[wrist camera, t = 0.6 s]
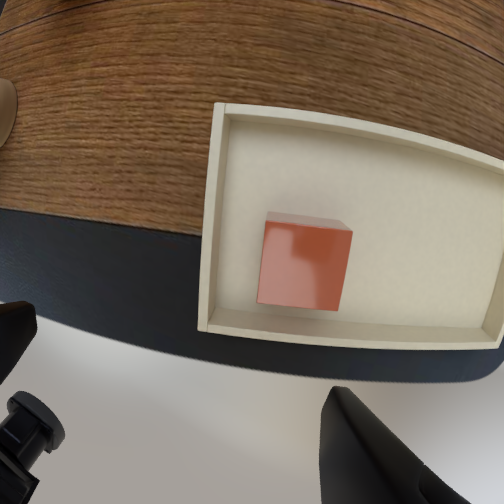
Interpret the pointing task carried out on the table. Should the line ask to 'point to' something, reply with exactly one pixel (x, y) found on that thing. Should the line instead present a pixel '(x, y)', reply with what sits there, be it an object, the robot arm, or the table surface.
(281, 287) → the clay block
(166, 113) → the table surface
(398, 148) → the beige tray
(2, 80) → the pedestal
